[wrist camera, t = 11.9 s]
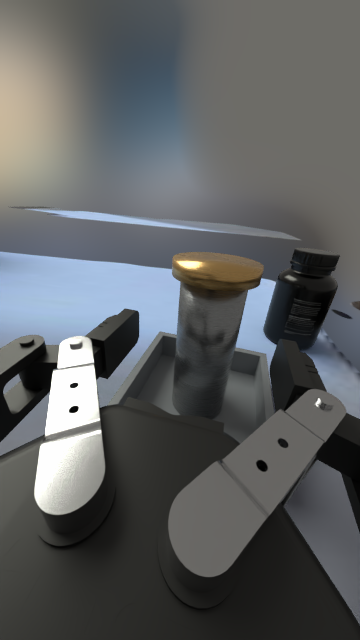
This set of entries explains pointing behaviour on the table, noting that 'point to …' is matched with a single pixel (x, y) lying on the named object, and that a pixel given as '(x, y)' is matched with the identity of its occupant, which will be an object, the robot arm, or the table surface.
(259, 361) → the tray
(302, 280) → the supplement bottle
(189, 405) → the pin
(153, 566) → the robot arm
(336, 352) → the table surface
